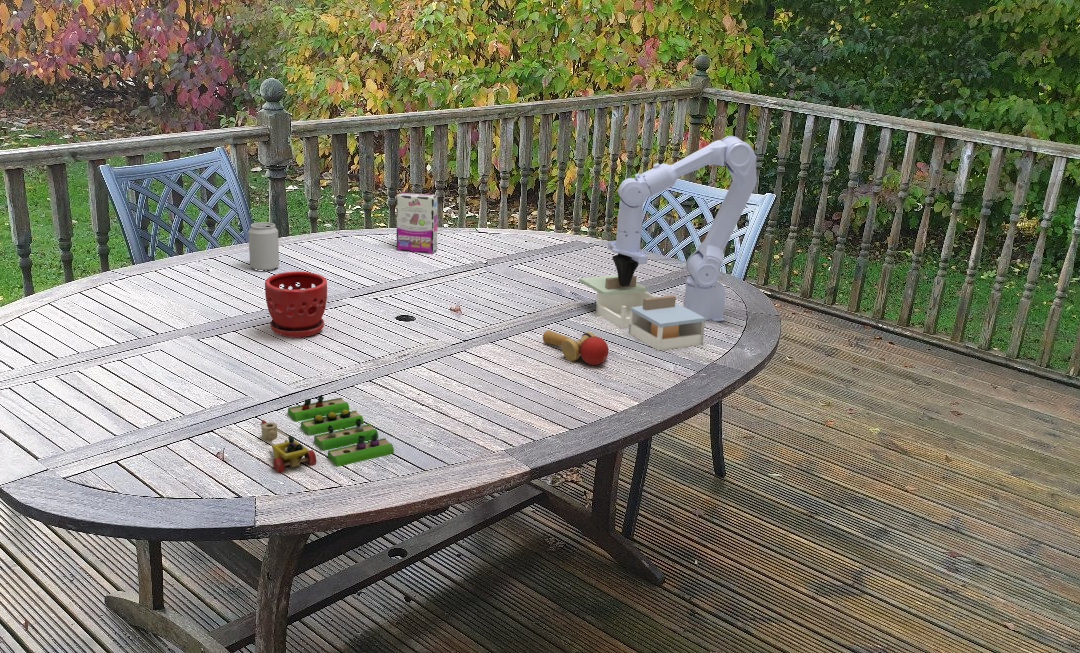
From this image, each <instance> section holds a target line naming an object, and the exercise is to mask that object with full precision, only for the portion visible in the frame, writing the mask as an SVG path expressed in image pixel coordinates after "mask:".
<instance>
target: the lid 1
mask: <svg viewBox="0 0 1080 653" xmlns="http://www.w3.org/2000/svg"><path fill="white" fill-rule="evenodd" d="M637 280H638V278H637V276H635V275H633V277H632V280H631V282H630V285H629V286H624V287H622V286H620V284H619V279H618V274H612V275H611V274H609V275H602V276H591V277H580V278H579V280H578V282H579V283H581V284H582V285H585V286H586V287H587V288H590V289H592V290H594V291H595V292H596V293H597V292H599V293H600V294H602V295H604V296H605V295H614V294H623V293H632V292H641V291H647V290H648V289H647V286H645V285H642V284H641V283H638V282H637ZM647 292H648V291H647Z"/></svg>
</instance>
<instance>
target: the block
mask: <svg viewBox="0 0 1080 653" xmlns="http://www.w3.org/2000/svg"><path fill="white" fill-rule="evenodd" d="M658 327H659V326H657V325H655V324H653V323H652V322H651V332H650V334H652V335H654V336H655V337H657V332H658ZM678 330H679V325H674V326H666V327H663V334H662V339H664V338H672V337H678Z"/></svg>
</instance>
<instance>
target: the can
mask: <svg viewBox="0 0 1080 653" xmlns="http://www.w3.org/2000/svg"><path fill="white" fill-rule="evenodd" d="M247 234H248V248H249V249H248V250H249V251H248V252H249V266H250V268H252V269H253V268H254V269H257V270H272V269H275V268H276V269H277V268H278V267H279V266H280V253H279V251H280V250H279V229H278V228H277V227H276V224H275V223H273V222H269V221H267V222H266V221H261V222H254V223H251V224H250V228H249V229H248V233H247ZM254 269H253V270H254ZM276 269H275V270H276ZM272 271H273V270H272Z"/></svg>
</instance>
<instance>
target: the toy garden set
mask: <svg viewBox="0 0 1080 653" xmlns="http://www.w3.org/2000/svg"><path fill="white" fill-rule="evenodd" d="M324 398H325V397H324V396H323V395H322V394H320V395H318V398H317V401H316V402H312V398H306V399H304V403H303V404H299V405H294V406H289V407H288V408H287V414H288V415H289V416H290V418H292V419H293V420H294V422H300V428H301V429H302V430H303V431H304V432H305V433H306V435H308V436H313V441H314V443H315V444H316V445H317V446H318V447H319V448H320V450H322V451H327V458H328V459H330V461H331V462H332V463H333V465H335V466H336V467H340V466H341V467H342V466H345V465H350V464H354V463H358V462H362V461H367V460H370V459H375V458H380V457H383V456H388V455H392V454H395V450H394V449H395V448H394V445H393V443H392V442H389V441H388V440H387V438H386V437H383V438H380V439H379V432H378V430H377V428H374V427H373V425H371V423H367V424H364V417H363V416H362V415H361V414H360V413H359V412H358V411H357V410H350V406H349V402H347V401H345V400H344V399H343V397H341V396H340V397H338V398H332V399H327V400H324ZM261 422H262V424H261V439H262V440H264V441H274V440H275V441H276V439H277V438H278V433H279V434H281V435H283V436H284V437H287V439H285V440H283V441H284V442H279V443H276V444H275V443H274V442H270V444H269V445H270V447H271V448H272V451H273V456H274V458H273V460H272V466H273V469H274V470H275V471H276V472H277V474H280V473H284V472H285V467H287V466H289V467H290V468H291V469H293V468H296V467H300V466H301V463H305V462H306V463H307V464H308V465H309V466H313V465H317V457H316V453H315V451H314V450H312V449H310V450H309V449H308V448H307V447H305V446H303V445H302V444H301V443H300V442H299V441H297V440H296V439H295V437H294V436H291V434H290V435H287V434H286V433H284V432H283V431H281V430H280V429H278V424H277V423H276V422H271V421H270V422H267V421H265V420H263V419H262V420H261Z"/></svg>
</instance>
